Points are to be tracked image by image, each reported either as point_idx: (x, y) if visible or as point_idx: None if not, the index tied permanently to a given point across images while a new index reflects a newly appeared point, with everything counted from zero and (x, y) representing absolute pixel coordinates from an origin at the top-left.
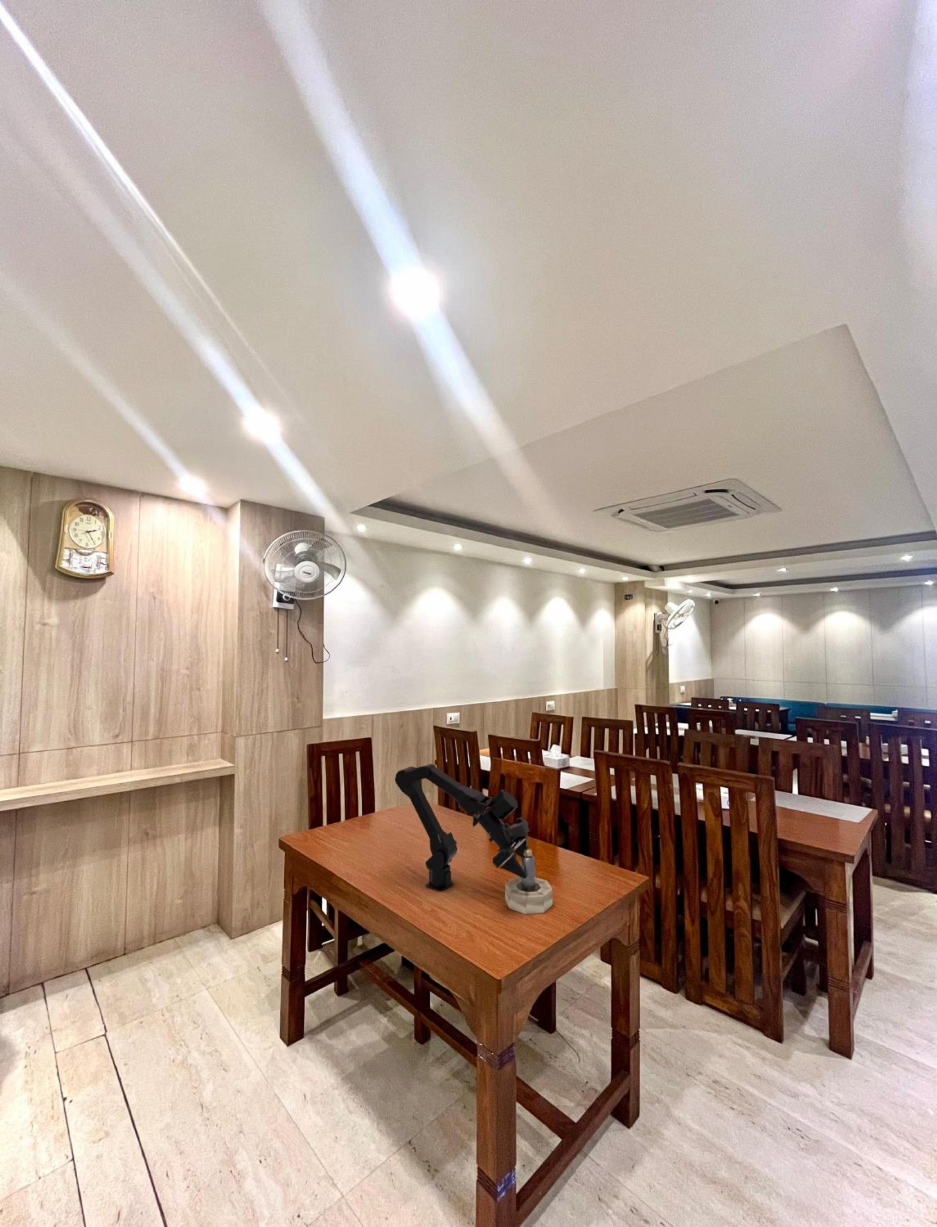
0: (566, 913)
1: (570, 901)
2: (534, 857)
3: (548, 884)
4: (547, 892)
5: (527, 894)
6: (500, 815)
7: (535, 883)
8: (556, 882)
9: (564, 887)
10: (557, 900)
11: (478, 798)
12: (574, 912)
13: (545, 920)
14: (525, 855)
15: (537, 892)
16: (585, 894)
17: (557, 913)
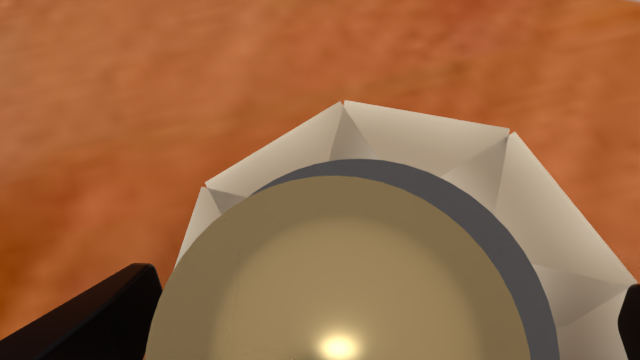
0: (424, 48)
1: (266, 62)
2: (324, 166)
3: (273, 149)
4: (430, 119)
5: (558, 287)
6: None
7: None
8: (35, 197)
9: (95, 135)
10: (277, 135)
11: None
12: (392, 12)
13: (577, 144)
14: None
15: None
16: (157, 8)
17: (447, 96)
